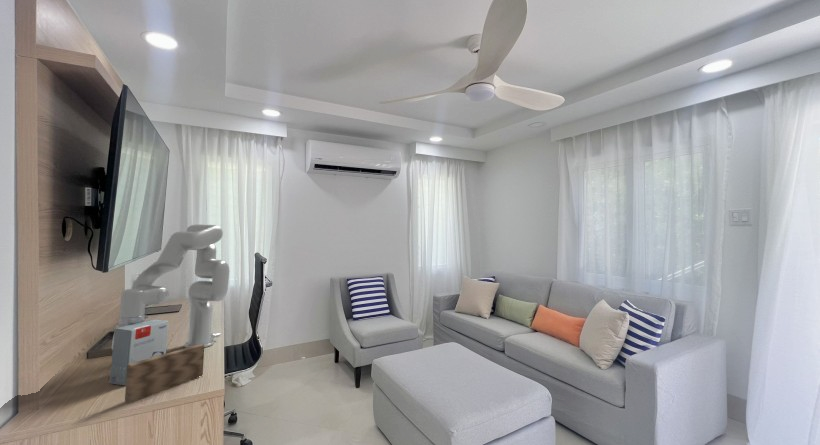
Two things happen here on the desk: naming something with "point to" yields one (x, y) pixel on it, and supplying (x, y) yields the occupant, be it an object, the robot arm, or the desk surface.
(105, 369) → the desk surface
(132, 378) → the walnut board
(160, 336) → the hard drive box
